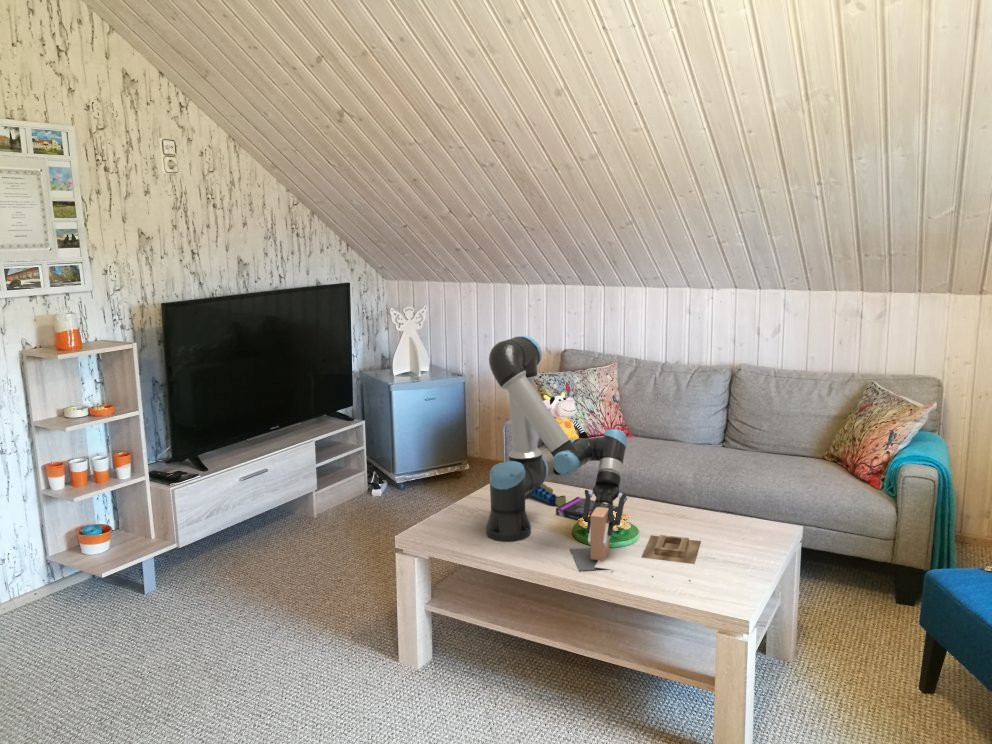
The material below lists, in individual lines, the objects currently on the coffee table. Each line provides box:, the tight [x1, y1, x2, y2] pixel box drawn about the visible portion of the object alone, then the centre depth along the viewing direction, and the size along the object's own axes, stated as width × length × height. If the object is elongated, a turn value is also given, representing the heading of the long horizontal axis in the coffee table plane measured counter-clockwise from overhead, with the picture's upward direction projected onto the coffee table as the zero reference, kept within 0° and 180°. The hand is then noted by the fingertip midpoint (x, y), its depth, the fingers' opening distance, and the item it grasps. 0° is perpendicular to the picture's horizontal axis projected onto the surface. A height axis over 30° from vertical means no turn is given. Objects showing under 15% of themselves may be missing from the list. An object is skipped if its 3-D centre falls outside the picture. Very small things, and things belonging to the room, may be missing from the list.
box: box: [555, 496, 624, 521], centre depth 285 cm, size 14×4×20 cm
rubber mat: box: [569, 547, 612, 572], centre depth 248 cm, size 16×16×1 cm
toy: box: [525, 483, 567, 508], centre depth 300 cm, size 14×25×10 cm, turn 38°
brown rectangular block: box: [590, 507, 610, 561], centre depth 247 cm, size 4×8×14 cm, turn 160°
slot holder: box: [641, 534, 702, 565], centre depth 251 cm, size 16×18×4 cm
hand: (597, 543), depth 244 cm, fingers closed on brown rectangular block, 4 cm apart
